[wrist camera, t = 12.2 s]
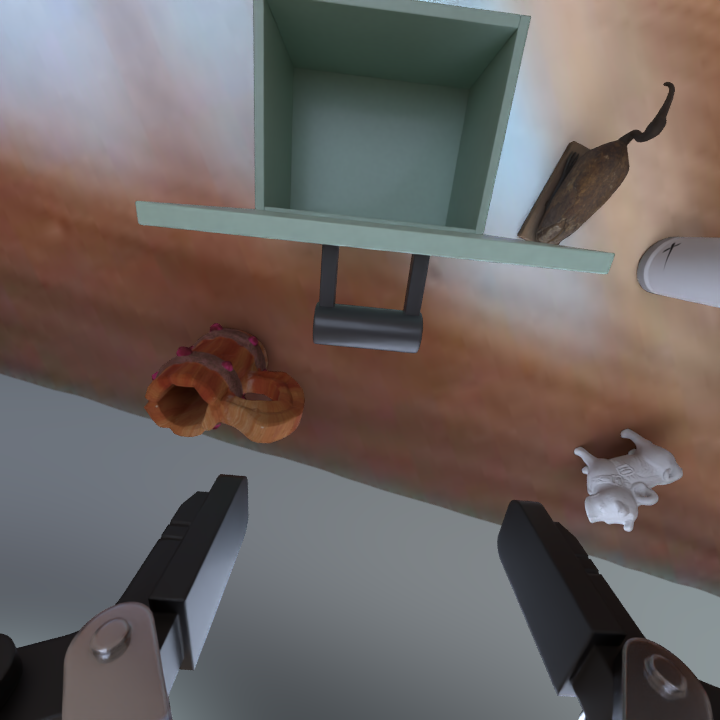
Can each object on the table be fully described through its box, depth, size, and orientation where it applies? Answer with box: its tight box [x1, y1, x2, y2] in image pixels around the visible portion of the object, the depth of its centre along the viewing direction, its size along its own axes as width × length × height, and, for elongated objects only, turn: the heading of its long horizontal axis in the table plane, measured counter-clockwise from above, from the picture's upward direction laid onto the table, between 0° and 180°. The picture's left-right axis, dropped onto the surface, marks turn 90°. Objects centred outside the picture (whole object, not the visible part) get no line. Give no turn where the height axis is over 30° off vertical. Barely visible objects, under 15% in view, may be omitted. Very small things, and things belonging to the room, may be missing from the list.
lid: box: [135, 201, 615, 353], centre depth 20 cm, size 15×18×6 cm
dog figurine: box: [574, 429, 683, 531], centre depth 43 cm, size 5×13×11 cm, turn 119°
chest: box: [253, 0, 531, 234], centre depth 29 cm, size 14×18×11 cm
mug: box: [144, 323, 305, 443], centre depth 35 cm, size 15×8×15 cm, turn 71°
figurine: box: [517, 82, 675, 245], centre depth 31 cm, size 14×4×9 cm, turn 157°
